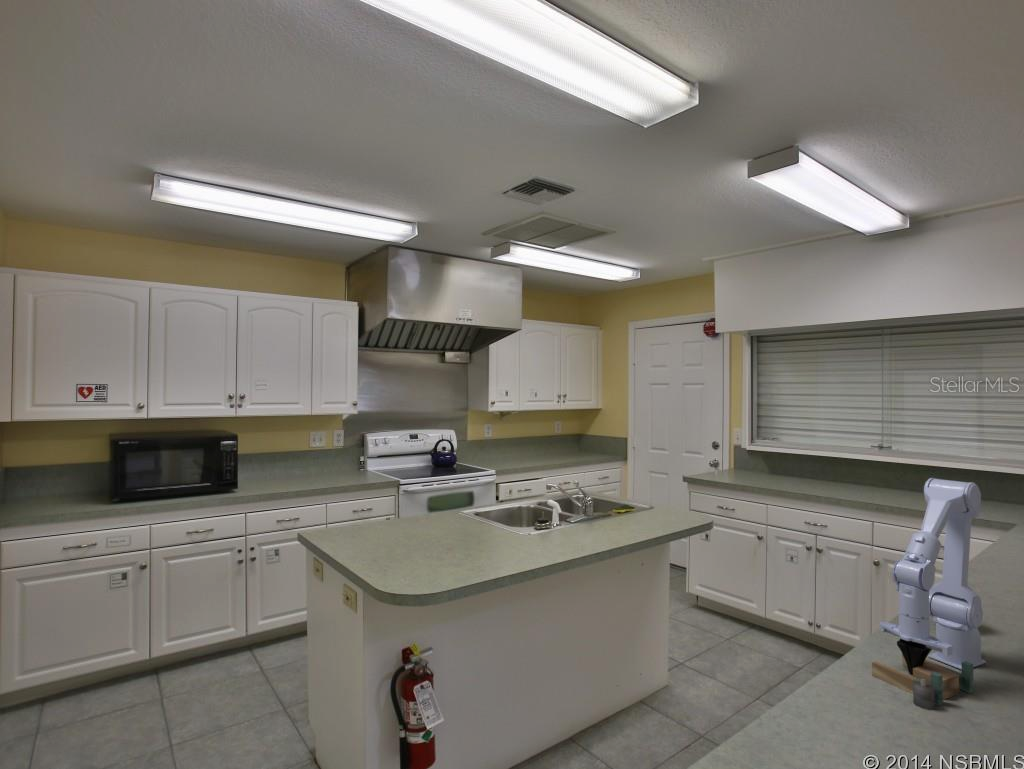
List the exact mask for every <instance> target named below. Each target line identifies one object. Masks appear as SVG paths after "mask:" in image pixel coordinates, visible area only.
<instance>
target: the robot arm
mask: <svg viewBox="0 0 1024 769" xmlns="http://www.w3.org/2000/svg"><path fill="white" fill-rule="evenodd" d="M923 494H924V495H923V496H924V500H925V503H926V505H927V506H926V510H925V513H924V517H923V521H922V524H921V528H920V530H919V531H918V532H915V533H913V534H912V536H911V537H910V541H909V542H908V545H907V548H906V550H905V553H904V555H903V557H902V559H901V560H900V559H899V560H896V561H895V563H894V566H893V570H892V578H893V581H894V583H895V590H896V592H897V593H898V624H894V623H891V622H887V621H881V622H879V632H882V633H888V634H890V635H893V636H895V637H898V638H899V640H897V641H896V645H897V647H898V649H899V650H900V652H901V654H903V656H904V658H905V661H906V664H907V667H908V668H907V667H906V668H907V670H908V673H909V674H908V675H910V676H913V668H916V667H919V666H922V665H923V664H924V661H925V659H926V660H927V657H928V658H929V659H930V658H931V659H933V660H935V661H937V662H940V663H944V664H946V665H949V666H951V667H954V668H957V669H959V670H961V671H962V662H965V661H966V662H969V663H971V664H973V668H976V667H978V666H981V665H984V664H986V663H987V662H986V660H984V659H982V637H981V636H982V635H981V633H980V630H979V629H978V628H979V627H980V626H981V625H982V622H983V618H984V617H983V616H984V612H983V608H982V598H981V596H980V595H979V594H978V593H976V591H975V590H973V589H972V588H971V587H970V586H969V585H968V583H969V582H968V580H969V566H970V565H969V563H970V551H971V550H970V548H971V547H970V546H971V533H972V522H973V518H978V517H980V512H981V502H982V500H981V499H982V493H981V491H980V487H979V486H978V485H977V484H976V483H975V482H971V481H970V482H967V481H959V480H958V481H957V480H950V479H949V480H948V479H942V478H935V477H930V478H928V479H927V480H926V481H925V483H924V486H923ZM944 528H945V531H944V532H945V535H944V549H943V561H942V576H941V577H942V579H941V581H939V582H937V583H935V580H936V579H935V578H936V571H937V570H936V568H937V567H936V566H935V563H936V561H937V559H938V557H939V554H940V551H941V549H942V546H943V545H942V543H941V541H940V540H939V537H940V536H941V534H942V532H943V530H944ZM934 583H935V584H934ZM942 593H946V594H950V595H954V596H957V597H961V598H964V599H961V598H957V597H953V596H949V595H945V594H942ZM931 617H932V621H933V622H935V632H936V633H935V636H933V635H931V629H930V627H931V626H930V623H931V621H930V620H931V619H930V618H931ZM932 650H933V651H935V652H932V653H931V651H932Z"/></svg>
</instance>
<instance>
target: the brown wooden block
mask: <svg viewBox="0 0 1024 769" xmlns="http://www.w3.org/2000/svg"><path fill="white" fill-rule="evenodd" d="M933 672H936V673H939V674H941V675H943V700H945V699H948V698H951V697H954V696H955V695H956V696H957V695H959V694H960V689H959V675H958V674H955V673H953V672H950V671H948V670H945V669H943V668H940V667H938V666H935V665H932V664H930V663H928V664H925V665H922V666H919V667H916V668H913V675H912V677H915V678H917V679H919V680H921V679H926V681H927V683H929V684H931V673H933Z"/></svg>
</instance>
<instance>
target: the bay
mask: <svg viewBox="0 0 1024 769" xmlns="http://www.w3.org/2000/svg"><path fill="white" fill-rule="evenodd" d="M901 654H902V653H901ZM901 659H902V666H903V667H905V668H907V669H908V667H907V664H906V661H905V658H904V656H903V654H902V657H901ZM928 663H930V664H932V665H935V666H938V667H940V668H943V669H945V670H948V671H950V672H953V673H955V674H958V675H959V690H961V691H963V692H965V693H968V694H972V693H974V692H975V691H974V690H975V689H974V687H975V686H974V667H973V664H971V663H969V662H966V661H965V662H962V670H961V672H959V671H956V670H954V669H952V668H950V667H946V666H943V665H941V664H939V663H936V662H933V661H930V660H929V659H927V658H926V659H925V661H924V664H923V665H925V664H928ZM871 676H873V677H874V678H877V679H879V680H881V681H883V682H886V683H888V684H890V685H893V686H895V687H897V688H899V689H901V690H903V691H906V692H907V693H910V694H912V696H913V701H912V702H913V704H914V705H915V706H917V707H919V708H921V709H924V710H934V709H935V706H936V705H937V706H942V705H943V704H944V699H943V675H941V674H939V673H936V672H933V673H931V684H929V683H927V681H926V679H921V680H919V679H917V678H915V677H913V675H910V674H907V673H905V672H902V671H900V670H898V669H896V668H893V667H891V666H888V665H886V664H885V663H881V662H879V661H872V662H871Z"/></svg>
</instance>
